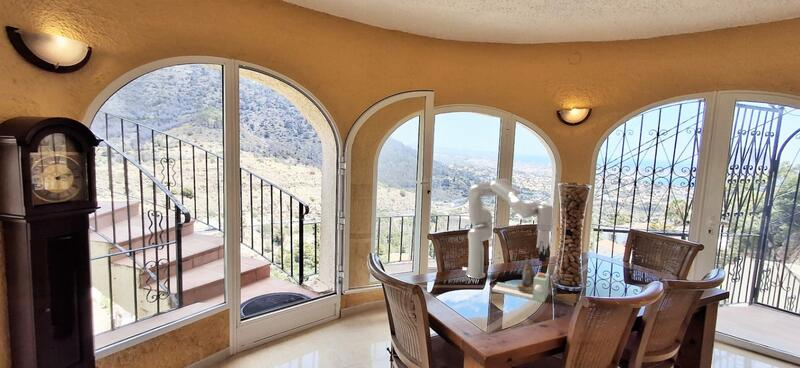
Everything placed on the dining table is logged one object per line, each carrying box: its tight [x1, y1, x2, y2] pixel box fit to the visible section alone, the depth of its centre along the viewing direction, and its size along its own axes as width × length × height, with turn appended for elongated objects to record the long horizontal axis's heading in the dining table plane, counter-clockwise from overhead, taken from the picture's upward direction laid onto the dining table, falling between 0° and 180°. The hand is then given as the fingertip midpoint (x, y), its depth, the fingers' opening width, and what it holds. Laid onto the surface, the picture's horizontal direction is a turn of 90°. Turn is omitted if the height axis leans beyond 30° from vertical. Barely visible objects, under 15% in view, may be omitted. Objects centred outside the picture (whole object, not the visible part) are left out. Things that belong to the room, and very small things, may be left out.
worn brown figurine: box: [522, 258, 536, 285], centre depth 230 cm, size 12×6×18 cm, turn 121°
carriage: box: [516, 272, 533, 293], centre depth 214 cm, size 8×6×10 cm
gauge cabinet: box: [533, 272, 550, 303], centre depth 210 cm, size 6×12×12 cm, turn 149°
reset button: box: [538, 272, 546, 278], centre depth 210 cm, size 3×3×3 cm
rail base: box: [491, 281, 534, 301], centre depth 218 cm, size 22×12×4 cm, turn 59°
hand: (542, 260), depth 209 cm, fingers closed
